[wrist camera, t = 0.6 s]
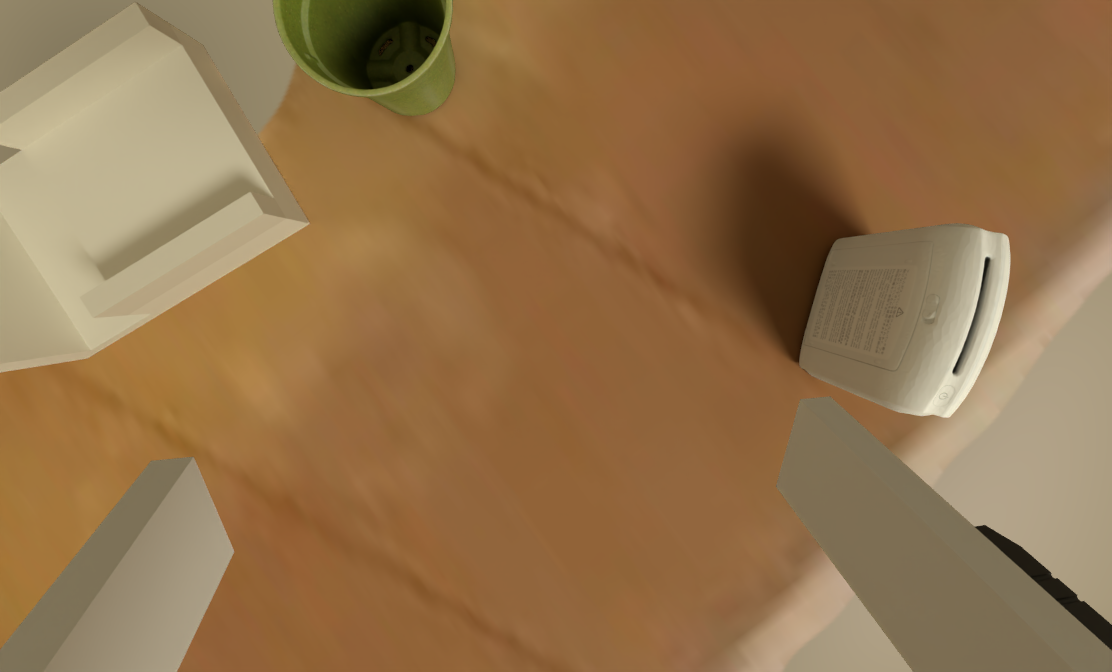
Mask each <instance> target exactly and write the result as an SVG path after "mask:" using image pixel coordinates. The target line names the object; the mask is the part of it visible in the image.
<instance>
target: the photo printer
mask: <svg viewBox="0 0 1112 672" xmlns="http://www.w3.org/2000/svg"><path fill="white" fill-rule="evenodd" d="M1009 272H1010V247H1009V239H1008V237H1007V236H1006V235H1005V234H1003V233H996V232H989V231H986V230H984V229H981V228H979V227H976V226H973V225H969V224H958V223H955V224H944V225H936V226H930V227H922V228H914V229H906V230H899V231H892V232H884V233H877V234H869V235H862V236H854V237H847V238H840V239H837V240H836V241H835V242H834V244H833V246H832V248H831V250H830V252H829V254H828V257H827V259H826V262H825V266H824V269H823V272H822V275H821V278H820V282H819V285H818V288H817V291H816V295H815V298H814V302H813V305H812V309H811V312H810V316H809V319H808V323H807V327H806V330H805V334H804V338H803V342H802V346H801V351H800V358H799V366H800V367H801V368H802V369H805V370H806V371H807V372H808V373H809V374H810V375H812V376H813V377H816V378H818V379H820V380H822V381H825V382H827V383H830V384H832V385H834V386H837V387H839V388H841V389H844V390H846V391H848V392H851V393H853V394H855V395H858V396H860V397H862V398H865V399H867V400H870V401H872V402H874V403H877V404H879V405H882V406H884V407H886V408H889V409H891V410H894V411H897V412H901V413H907V414H913V415H919V416H926V415H932V414H934V415H937V416H940V417H946V418H947V417H950V416H951V415H952V414H953V413H954V412H955V411H956V409H957V408H958V407H959V406H960V404H961V403H962V402H963V400H964V399H965V398H966V396H967V394H968V393H969V391H970V390H971V388H972V386H973V385H974V383H975V381H976V379H977V377H978V375H979V373H980V371H981V369H982V367H983V365H984V363H985V360H986V358H987V356H988V353H989V351H990V348H991V346H992V343H993V340H994V338H995V335H996V332H997V329H998V325H999V322H1000V319H1001V315H1002V311H1003V307H1004V303H1005V298H1006V294H1007V288H1008V282H1009Z"/></svg>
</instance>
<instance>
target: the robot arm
mask: <svg viewBox="0 0 1112 672" xmlns="http://www.w3.org/2000/svg"><path fill="white" fill-rule="evenodd" d="M776 487H777V489H778V490H779V491H780V493H781V494H782V495H783V497H784V498H785V499H786V501H787V502H788V503H789V505H790V506H791V507H792V509H793V510H794V512H795V513H796V514H797V516H798V517H799V518H800V520H801V521H802V522H803V524H804V525H805V526H806V528H807V529H808V530H809V532H810V533H811V534H812V536H813V537H814V538H815V540H816V541H817V543H818V544H819V545H820V547H821V548H822V549H823V551H824V552H825V553H826V555H827V556H828V557H829V559H830V560H831V561H832V563H833V564H834V565H835V567H836V568H837V569H838V571H839V572H840V574H841V575H842V576H843V578H844V579H845V580H846V582H847V583H848V584H849V586H850V587H851V588H852V590H853V591H854V592H855V594H856V595H857V596H858V598H859V599H860V600H861V602H862V603H863V605H864V606H865V607H866V609H867V610H868V611H869V613H870V614H871V615H872V617H873V618H874V619H875V621H876V622H877V623H878V625H879V626H880V627H881V629H882V630H883V632H884V633H885V634H886V636H887V637H888V638H889V639H890V641H891V642H892V644H893V645H894V646H895V648H896V649H897V650H898V652H899V653H900V654H901V656H902V657H903V658H904V660H905V661H906V663H907V664H908V665H909V667H910V668H911V669H912V671H913V672H1112V625H1111V624H1110V623H1109V622H1108V621H1107V620H1105V619H1104V618H1103V617H1102V616H1101V615H1100V614H1098V613H1097V612H1096V611H1095V610H1094V609H1093V608H1091V607H1090V606H1089V605H1088V604H1087V603H1086V602H1084V601H1082V602H1081V601H1080V600H1078V598H1077V595H1076V594H1075V593H1074V592H1073V591H1071V590H1070V589H1069V588H1068V587H1067V586H1066V585H1065V584H1064V583H1062V582H1061V581H1060V580H1059V579H1058V578H1056V579H1054V578H1053V577H1052V576H1051V572H1050V571H1048V570H1047V569H1046V568H1045V567H1044V566H1042V565H1041V564H1040V563H1039V562H1038V561H1037V560H1036V559H1034V558H1033V557H1032V556H1031V555H1030V554H1029V553H1028V552H1026V551H1025V550H1024V549H1023V548H1022V547H1021V546H1019V545H1017V544H1016V543H1014V542H1012V541H1011V540H1009V539H1007V538H1006V537H1004V536H1002V535H1001V534H999V533H997V532H995V531H994V530H992V529H990V528H989V527H987V526H985V525H983V526H977V527H974V526H973V525H972V524H971V523H970V522H969V521H967V520H966V519H965V518H964V517H963V516H962V515H961V514H960V513H959V512H957V511H956V510H955V509H954V508H953V507H952V506H951V505H950V504H949V503H948V502H946V501H945V500H944V499H943V498H942V497H941V496H940V495H939V494H937V493H936V492H935V491H934V490H933V489H932V488H931V487H930V486H929V485H928V484H926V483H925V482H924V481H923V480H922V479H921V478H920V477H919V476H918V475H916V474H915V473H914V472H913V471H912V470H911V469H910V468H909V467H908V466H906V465H905V464H904V463H903V462H902V461H901V460H900V459H899V458H898V457H896V456H895V455H894V454H893V453H892V452H891V451H890V450H889V449H888V448H886V447H885V446H884V445H883V444H882V443H881V442H880V441H879V440H878V439H877V438H875V437H874V436H873V435H872V434H871V433H870V432H869V431H868V430H867V429H865V428H864V427H863V426H862V425H861V424H860V423H859V422H858V421H857V420H855V419H854V418H853V417H852V416H851V415H850V414H849V413H848V412H847V411H845V410H844V409H843V408H842V407H841V406H840V405H839V404H838V403H837V402H835V401H834V400H833V399H832V398H831V397H820V398H810V399H800V402H799V406H798V409H797V413H796V417H795V420H794V424H793V427H792V431H791V435H790V438H789V442H788V445H787V449H786V453H785V456H784V460H783V463H782V467H781V471H780V474H779V478H778V481H777V485H776ZM233 553H234V550H233V548H232V545H231V543H230V541H229V538H228V536H227V534H226V531H225V529H224V527H223V524H222V522H221V520H220V517H219V515H218V513H217V510H216V508H215V506H214V503H213V501H212V499H211V496H210V494H209V492H208V489H207V487H206V485H205V482H204V480H203V478H202V475H201V473H200V471H199V468H198V466H197V464H196V461H195V459H194V457H187V458H177V459H166V460H156V461H151V462H150V463H149V464H148V466H147V467H146V468H145V469H144V471H143V472H142V473H141V474H140V476H139V477H138V478H137V479H136V481H135V482H134V483H133V484H132V486H131V487H130V488H129V489H128V491H127V492H126V493H125V494H124V496H123V497H122V498H121V499H120V501H119V502H118V503H117V504H116V506H115V507H114V508H113V509H112V511H111V512H110V513H109V514H108V516H107V517H106V518H105V519H104V521H103V522H102V523H101V524H100V526H99V527H98V528H97V529H96V531H95V532H94V533H93V534H92V536H91V537H90V538H89V539H88V541H87V542H86V543H85V544H84V546H83V547H82V548H81V549H80V551H79V552H78V553H77V554H76V556H75V557H74V558H73V559H72V561H71V562H70V563H69V564H68V566H67V567H66V568H65V569H64V571H63V572H62V573H61V574H60V576H59V577H58V578H57V579H56V581H55V582H54V583H53V584H52V586H51V587H50V588H49V589H48V591H47V592H46V593H45V594H44V596H43V597H42V598H41V599H40V601H39V602H38V603H37V604H36V606H35V607H34V608H33V609H32V611H31V612H30V613H29V614H28V616H27V617H26V618H25V619H24V621H23V622H22V623H21V624H20V626H19V627H18V628H17V629H16V631H15V632H14V633H13V634H12V636H11V637H10V638H9V639H8V641H7V642H6V643H5V644H4V646H3V647H2V648H1V649H0V672H177V670H178V668H179V666H180V664H181V662H182V660H183V658H184V656H185V654H186V652H187V649H188V647H189V645H190V643H191V641H192V639H193V637H194V635H195V633H196V631H197V629H198V626H199V624H200V622H201V620H202V618H203V616H204V614H205V612H206V610H207V608H208V606H209V603H210V601H211V599H212V597H213V595H214V593H215V591H216V589H217V587H218V585H219V583H220V580H221V578H222V576H223V574H224V572H225V570H226V568H227V566H228V564H229V562H230V560H231V557H232V555H233Z"/></svg>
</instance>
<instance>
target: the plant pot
mask: <svg viewBox="0 0 1112 672" xmlns="http://www.w3.org/2000/svg"><path fill="white" fill-rule="evenodd" d="M273 9H274V16H275V22H276V25H277V29H278V32H279V35H280V37H281V39H282V41H283V44H284V46H285V47H286V49H287V51H288V52H289V54H290V55H291V57H292V58H293V60H294V61H295V62H296V63H297V64H298V66H299V67H300V68H301V69H302V70H303V71H304V72H305V73H307V74H308V75H309V76H310V77H311V78H313V79H314V80H316V81H317V82H318V83H320V84H322V85H324V86H325V87H327V88H329V89H332V90H334V91H336V92H339V93H342V94H346V95H350V96H357V97H368V98H369V99H371V100H373V101H375V102H377V103H378V104H380V105H382V106H384V107H386V108H387V109H389V110H391V111H393V112H395V113H397V114H400V115H409V116H412V115H424V114H427V113H430V112H432V111H433V110H435V109H436V108H438V107H439V106H440V105H441V104H442V103H443V102H444V101H445V100H446V99H447V97H448V96H449V94H450V92H451V90H452V88H453V85H454V81H455V60H454V55H453V50H452V45H451V40H450V35H449V31H450V26H451V22H452V13H453V0H273ZM426 37H431V38H433V39H434V40H435V41H436V42H437V44H436V45H435V47H433V46H432V45H431V44H430V43H429V42H427V41H426V39H425V38H426ZM388 39H392V40H393V42H392V43H391V44H390V45H389V46H388V47H386V49H385V50H384V52H383V53H382V55H379V50H380V48H381V47H382V45H383V44H384V43H385V42H386V41H387V40H388ZM408 65H412V66H413V71H412V72H411V73H409V72H407V71H406V67H407V66H408Z"/></svg>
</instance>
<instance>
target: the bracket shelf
mask: <svg viewBox="0 0 1112 672" xmlns="http://www.w3.org/2000/svg"><path fill="white" fill-rule="evenodd" d="M0 145H3V146H7V147H11V148H16V149H20V150H21V151H20V152H18V153H16V154H15V155H13V156H12V157H10V158H9V159H7V160H6V161H4V162H3V163H1V164H0V372H6V371H12V370H18V369H24V368H31V367H37V366H43V365H49V364H56V363H62V362H68V361H74V360H81V359H87V358H89V357H91V356H92V355H94V354H96V353H97V352H99V351H100V350H102V349H104V348H105V347H107V346H109V345H110V344H112V343H114V342H115V341H117V340H119V339H120V338H122V337H124V336H125V335H127V334H129V333H130V332H132V331H134V330H135V329H137V328H139V327H140V326H142V325H143V324H145V323H147V322H148V321H150V320H152V319H153V318H155V317H157V316H158V315H160V314H162V313H163V312H165V311H167V310H168V309H170V308H172V307H173V306H175V305H177V304H178V303H180V302H181V301H183V300H185V299H186V298H188V297H190V296H191V295H193V294H195V293H196V292H198V291H200V290H201V289H203V288H205V287H206V286H208V285H210V284H211V283H213V282H215V281H216V280H218V279H220V278H221V277H223V276H224V275H226V274H228V273H229V272H231V271H233V270H234V269H236V268H238V267H239V266H241V265H243V264H244V263H246V262H248V261H249V260H251V259H253V258H254V257H256V256H258V255H259V254H261V253H263V252H264V251H266V250H267V249H269V248H271V247H272V246H274V245H276V244H277V243H279V242H281V241H282V240H284V239H286V238H287V237H289V236H291V235H292V234H294V233H296V232H297V231H299V230H301V229H302V228H304V227H305V226H307V225H309V224H310V223H309V221H308V220H307V218H306V216H305V214H304V213H303V211H302V209H301V208H300V206H299V204H298V203H297V201H296V199H295V198H294V196H293V194H292V193H291V191H290V189H289V188H288V186H287V184H286V183H285V181H284V179H283V178H282V176H281V174H280V173H279V171H278V169H277V168H276V166H275V164H274V163H273V161H272V159H271V158H270V156H269V154H268V153H267V151H266V149H265V148H264V146H263V144H262V143H261V141H260V139H259V138H258V136H257V134H256V133H255V131H254V129H253V128H252V126H251V124H250V123H249V121H248V119H247V118H246V116H245V114H244V113H243V111H242V110H241V108H240V106H239V104H238V103H237V101H236V99H235V98H234V96H233V94H232V93H231V91H230V89H229V88H228V86H227V84H226V83H225V81H224V79H223V78H222V76H221V74H220V73H219V71H218V69H217V68H216V66H215V64H214V63H213V61H212V59H211V58H210V56H209V54H208V52H207V51H206V49H205V47H204V46H203V45H202V44H200V43H199V42H197V41H196V40H194V39H193V38H191V37H189V36H188V35H186V34H185V33H183V32H182V31H180V30H179V29H177V28H175V27H174V26H172V25H171V24H169V23H168V22H166V21H165V20H163V19H161V18H160V17H158V16H157V15H155V14H154V13H152V12H151V11H149V10H147V9H146V8H144V7H143V6H141V5H140V4H138V3H136V2H134V3H133V4H131V5H130V6H128V7H127V8H125V9H124V10H122V11H121V12H119V13H118V14H116V15H115V16H113V17H112V18H110V19H109V20H107V21H106V22H104V23H103V24H101V25H100V26H98V27H97V28H95V29H94V30H92V31H91V32H89V33H88V34H86V35H85V36H83V37H82V38H80V39H79V40H77V41H76V42H74V43H73V44H71V45H70V46H68V47H67V48H65V49H64V50H62V51H61V52H59V53H58V54H56V55H55V56H53V57H52V58H50V59H49V60H47V61H46V62H44V63H43V64H41V65H40V66H39V67H37V68H35V69H34V70H32V71H31V72H29V73H28V74H26V75H25V76H23V77H22V78H20V79H19V80H17V81H16V82H15V83H13V84H11V85H10V86H9V87H7V88H6V89H4V90H2V91H1V92H0Z"/></svg>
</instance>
